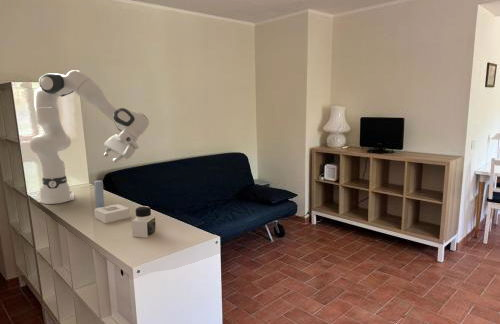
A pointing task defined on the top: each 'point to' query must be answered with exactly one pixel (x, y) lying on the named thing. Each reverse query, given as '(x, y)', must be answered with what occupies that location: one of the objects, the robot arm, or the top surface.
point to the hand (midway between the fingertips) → (109, 158)
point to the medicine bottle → (143, 223)
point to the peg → (99, 194)
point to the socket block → (111, 213)
